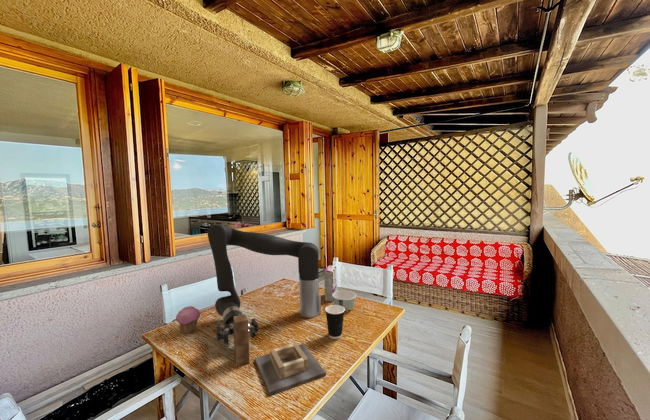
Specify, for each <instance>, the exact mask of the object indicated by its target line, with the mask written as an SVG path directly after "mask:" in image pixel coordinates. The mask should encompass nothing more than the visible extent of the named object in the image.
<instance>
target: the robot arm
mask: <svg viewBox="0 0 650 420" xmlns="http://www.w3.org/2000/svg"><path fill="white" fill-rule="evenodd" d="M207 239H208V242H209V245H210V249H211V253H212V256H213V263H214V266H215V267H214V269H215V277H216V284H217V290H218V292H229V294H230V295H225V296H221V297H219V298H217V299H216V301H215V303H214V307H215V310H216V313H218V315H219V316H221V317H222V324H223V325H224V327H221V326H220V325H217V326H216V328H215V329H216V342H220V341H221V340H222V341H223V344H224V345H226V346H228V345H230V343H229V339H230V338H231V337H232V336H234V322H233V317H234V316H238V315H243V312H242V310H241V309H240V308H241V298H240V296H239V294H238V293H237V289H236V288H235V281H234V274H233V273H234V272H233V269H232V265H231V263H230V259H229V256H228V250H227V249H228V248H227V246H233V247H241V248H244V249H246V250H248V251H250V252H253V253H257V254H262V255H267V256H268V255H269V256H290V257H295V258H297V261H298V263H297V264H298V277H299V279H298V280H299V281H298V285H299V287H298V288H299V289H298V291H299V296H298V297H299V316H301V317H303V318H311V319H312V318H315V317H317V316H318V315H321V314H322V299H321V297H322V295H321V293H320V285H319V284H320V275H319V274H320V272H319V271H320V270H319V269H320V268H319V265H320V263H319V262H320V260H319V258H320V257H319V254H320V253H319V248H318V246H317V245H316V244H314V243H312V242H306V241H297V240H291V239H287V238H284V237H279V236H275V235H271V234H266V233H262V232H254V231H252V232H251V231H243V230H239V229H236V228H233V227H229V226H227V225H223V224H219V223H218V224H217V223H216V224H213V225H212V226H210V227H209V229H208V231H207ZM248 331H249V335H250V337H251V339H255V337H256V335H257V332H259V324H258V322H257V320H256V319H255V318H251V320H250V321H248Z"/></svg>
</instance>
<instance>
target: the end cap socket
mask: <svg viewBox="0 0 650 420" xmlns="http://www.w3.org/2000/svg"><path fill="white" fill-rule="evenodd" d="M254 361H255V364H256V366H257V369H258V371H259V374H260V375H261V378H262V382H263V383H264V386H265V388H266V390H267V394H268V395H269V397H270V396H272V395H275V394H278V393H281V392H284V391H286V390H290V389H292V388H295V387H298V386H300V385H303V384H306V383H309V382H312V381H314V380H317V379H319V378H323V377H326V376H327V371H325V369H324V368H323V366H322V365H321V364H320V363H319V362H318V360H317V359H316V358H315V357H314V354H312V353H311V351H310V350H309V348H307V346H306V345H305V344H304V343H302V344H299V345H298V343H297V342H294V343H291V344H287V345H284V346H280V347H276V348H273V349H270V350H269V353H267V354H263V355H260V356H256V357H254Z"/></svg>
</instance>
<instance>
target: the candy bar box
mask: <svg viewBox="0 0 650 420" xmlns="http://www.w3.org/2000/svg"><path fill="white" fill-rule="evenodd" d="M323 272H324V275H323V276H324V301H325V302H331V303H334V299H333V296H332V294H333V293H334V292H336V291H338V287H337V286H338V285H337V282H338V281H337V280H338V279H337V265H332V264H331V265H330V264H329V265H327V267H326V269H324V271H323Z"/></svg>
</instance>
